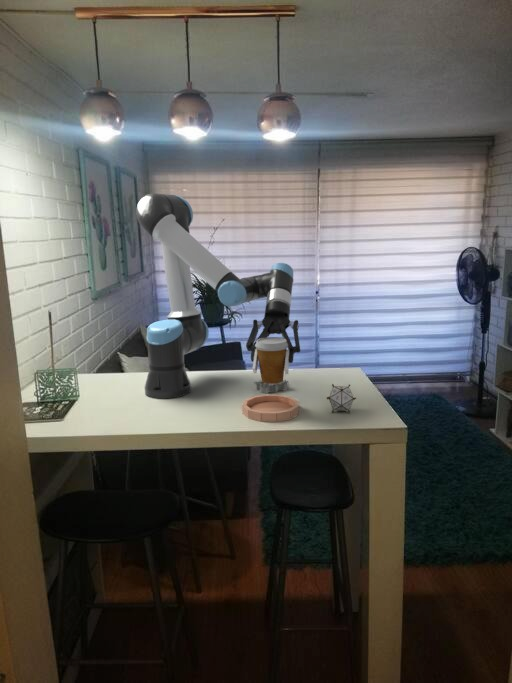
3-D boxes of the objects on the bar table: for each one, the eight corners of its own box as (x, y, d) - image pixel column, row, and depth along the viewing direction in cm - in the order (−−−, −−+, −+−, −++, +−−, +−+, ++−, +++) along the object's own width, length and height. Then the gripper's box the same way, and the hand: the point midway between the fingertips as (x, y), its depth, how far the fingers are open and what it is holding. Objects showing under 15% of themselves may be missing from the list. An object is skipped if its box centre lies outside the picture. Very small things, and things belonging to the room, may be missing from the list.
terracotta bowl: (234, 407, 154) (234, 399, 154) (282, 399, 161) (282, 391, 161) (257, 425, 140) (257, 416, 139) (308, 415, 147) (309, 407, 146)
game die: (333, 422, 151) (316, 393, 153) (356, 409, 153) (339, 380, 155) (343, 418, 143) (324, 387, 144) (367, 403, 145) (348, 373, 147)
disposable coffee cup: (289, 375, 152) (288, 336, 150) (288, 385, 143) (287, 343, 140) (257, 375, 153) (256, 336, 151) (254, 385, 144) (253, 344, 141)
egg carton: (280, 384, 177) (280, 373, 177) (290, 390, 171) (290, 378, 170) (252, 388, 173) (252, 377, 172) (262, 395, 166) (262, 383, 165)
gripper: (313, 314, 157) (308, 378, 145) (246, 313, 161) (236, 376, 149) (311, 299, 151) (306, 365, 139) (242, 299, 155) (231, 363, 143)
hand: (270, 371), depth 144 cm, fingers closed on disposable coffee cup, 8 cm apart
